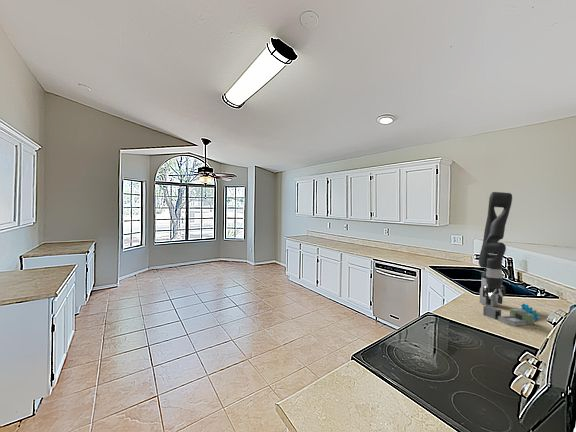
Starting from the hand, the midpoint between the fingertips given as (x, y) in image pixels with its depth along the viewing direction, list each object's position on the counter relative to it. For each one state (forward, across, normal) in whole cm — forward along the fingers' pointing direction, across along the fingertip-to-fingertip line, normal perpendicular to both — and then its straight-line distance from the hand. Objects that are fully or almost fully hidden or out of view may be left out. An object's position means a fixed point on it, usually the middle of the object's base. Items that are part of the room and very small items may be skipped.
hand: (494, 304), depth 163 cm
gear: (+8, -19, +6) cm, 21 cm away
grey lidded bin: (+8, 0, -1) cm, 8 cm away
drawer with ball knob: (+8, -5, +8) cm, 12 cm away
